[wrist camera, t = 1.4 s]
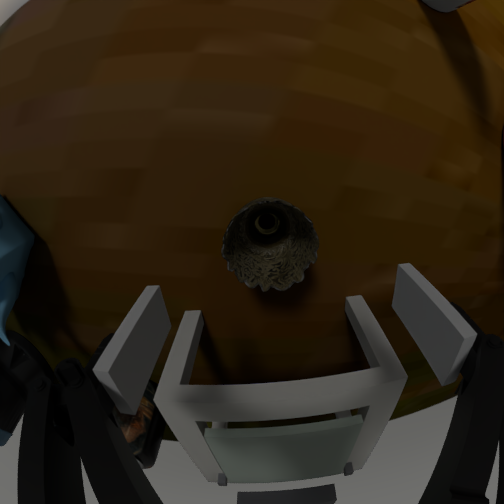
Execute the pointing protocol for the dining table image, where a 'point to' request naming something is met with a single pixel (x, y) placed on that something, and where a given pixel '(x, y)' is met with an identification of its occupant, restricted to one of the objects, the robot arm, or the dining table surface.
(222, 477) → the frame
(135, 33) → the dining table surface
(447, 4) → the milk bottle
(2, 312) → the teakettle
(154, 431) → the jar
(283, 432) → the trapdoor
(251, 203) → the cup
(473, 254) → the dining table surface
